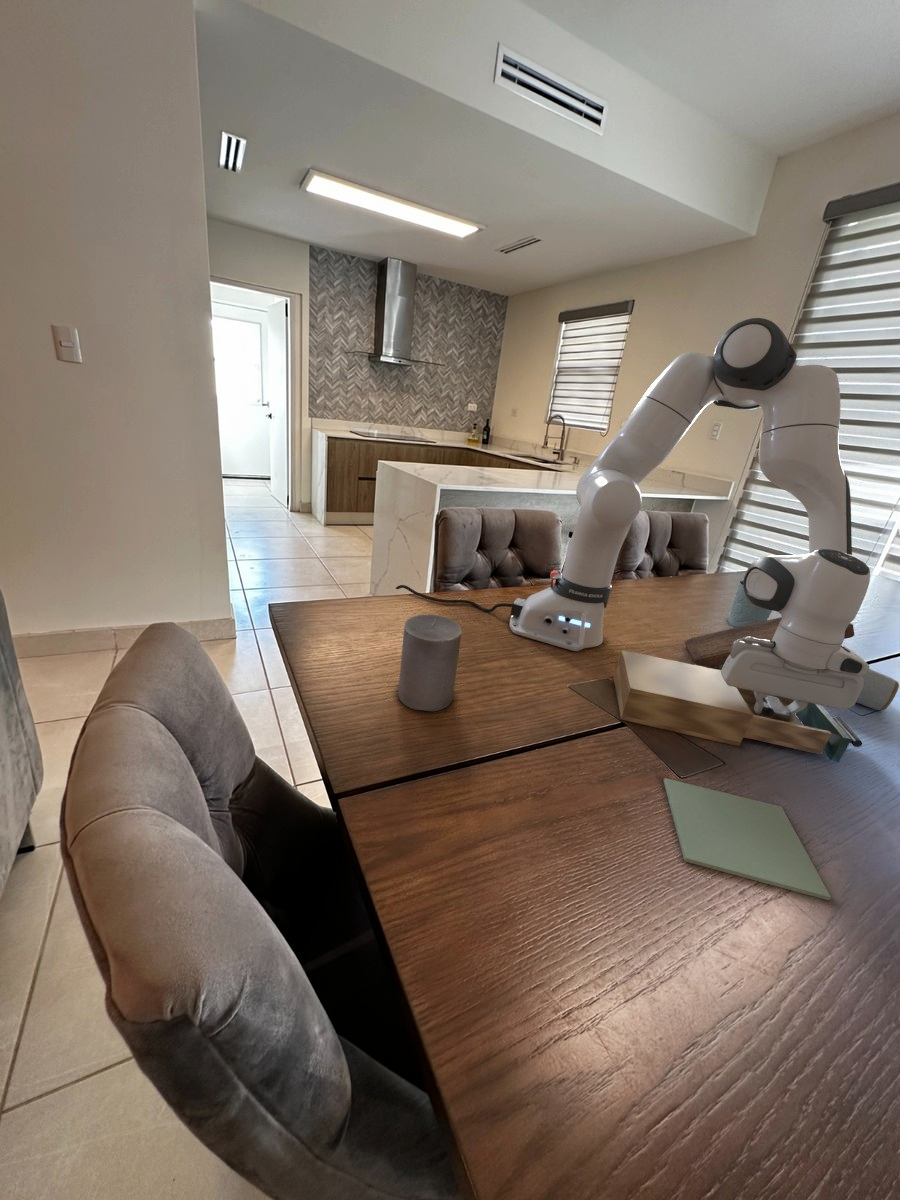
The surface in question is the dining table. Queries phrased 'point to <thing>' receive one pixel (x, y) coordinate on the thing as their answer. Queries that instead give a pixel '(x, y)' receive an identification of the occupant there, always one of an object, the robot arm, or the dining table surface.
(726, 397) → the robot arm
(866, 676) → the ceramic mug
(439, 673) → the pillar candle
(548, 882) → the dining table surface
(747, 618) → the teal plant pot
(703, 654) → the small wooden bench
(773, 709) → the slate gray brick
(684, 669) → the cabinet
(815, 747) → the drawer
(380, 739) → the dining table surface
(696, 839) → the mat
